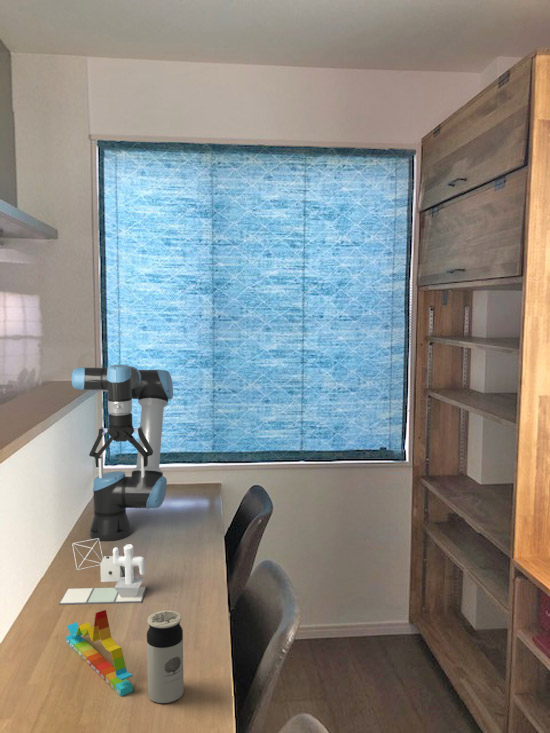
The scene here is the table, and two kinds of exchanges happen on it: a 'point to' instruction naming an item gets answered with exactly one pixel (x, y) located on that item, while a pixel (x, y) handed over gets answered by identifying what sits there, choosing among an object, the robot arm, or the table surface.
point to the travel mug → (165, 657)
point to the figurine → (128, 572)
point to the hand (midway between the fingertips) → (122, 476)
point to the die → (110, 570)
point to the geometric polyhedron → (87, 554)
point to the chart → (109, 673)
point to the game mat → (98, 596)
